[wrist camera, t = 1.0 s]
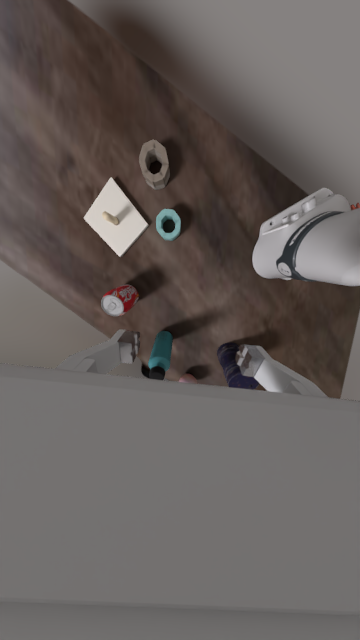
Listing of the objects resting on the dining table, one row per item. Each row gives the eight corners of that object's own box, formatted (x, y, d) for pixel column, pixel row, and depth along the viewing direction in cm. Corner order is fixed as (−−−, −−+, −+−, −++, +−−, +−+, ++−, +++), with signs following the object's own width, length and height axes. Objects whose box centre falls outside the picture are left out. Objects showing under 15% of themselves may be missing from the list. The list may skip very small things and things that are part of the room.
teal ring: (170, 207, 33) (169, 202, 30) (184, 229, 35) (185, 226, 32) (154, 226, 35) (151, 222, 32) (168, 245, 37) (167, 244, 34)
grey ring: (150, 146, 29) (146, 132, 25) (173, 165, 30) (172, 154, 27) (140, 178, 31) (135, 169, 28) (162, 194, 32) (160, 187, 29)
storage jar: (212, 355, 55) (221, 387, 41) (225, 338, 51) (241, 367, 37) (231, 363, 57) (246, 396, 43) (245, 347, 53) (267, 378, 39)
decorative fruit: (195, 382, 62) (197, 403, 53) (178, 381, 62) (177, 402, 53) (197, 368, 58) (200, 388, 49) (179, 367, 58) (179, 387, 49)
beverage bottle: (159, 326, 49) (146, 365, 31) (176, 331, 50) (172, 373, 32) (154, 339, 51) (140, 382, 33) (170, 344, 52) (164, 389, 34)
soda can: (144, 295, 44) (131, 307, 33) (131, 307, 46) (115, 323, 35) (127, 279, 41) (108, 286, 31) (114, 293, 44) (92, 304, 33)
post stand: (113, 179, 31) (98, 162, 26) (149, 225, 35) (142, 219, 29) (86, 219, 35) (68, 212, 29) (121, 256, 39) (111, 256, 33)
